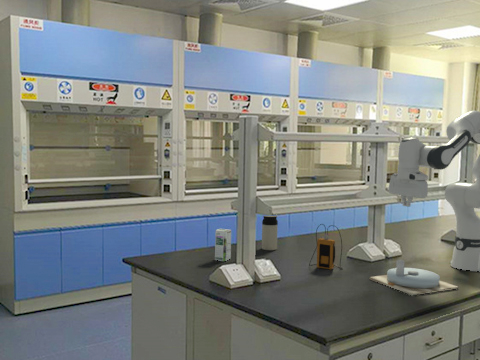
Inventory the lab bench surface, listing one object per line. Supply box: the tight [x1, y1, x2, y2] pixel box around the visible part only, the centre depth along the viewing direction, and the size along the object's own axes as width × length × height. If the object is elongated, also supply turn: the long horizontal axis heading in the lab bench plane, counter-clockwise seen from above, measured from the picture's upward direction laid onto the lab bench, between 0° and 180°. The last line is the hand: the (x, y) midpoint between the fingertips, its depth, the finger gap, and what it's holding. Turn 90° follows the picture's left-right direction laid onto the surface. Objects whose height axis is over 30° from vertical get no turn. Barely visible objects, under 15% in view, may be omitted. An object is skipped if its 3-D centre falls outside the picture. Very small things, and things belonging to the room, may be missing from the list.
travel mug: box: [261, 215, 279, 252], centre depth 263 cm, size 8×8×18 cm
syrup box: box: [214, 228, 232, 262], centre depth 238 cm, size 6×6×14 cm
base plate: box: [369, 274, 459, 295], centre depth 204 cm, size 24×24×2 cm
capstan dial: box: [386, 259, 441, 288], centre depth 204 cm, size 20×20×9 cm
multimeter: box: [308, 223, 343, 270], centre depth 229 cm, size 15×10×20 cm
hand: (406, 206), depth 222 cm, fingers closed
